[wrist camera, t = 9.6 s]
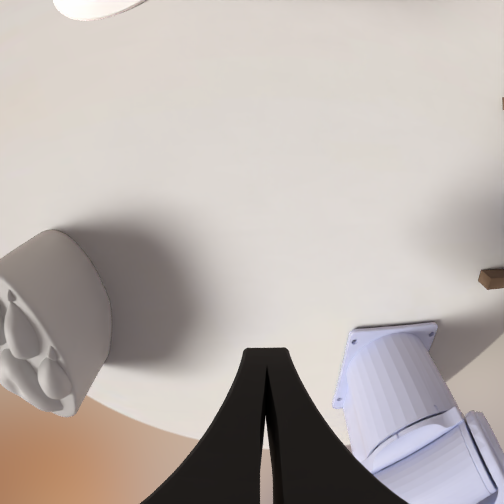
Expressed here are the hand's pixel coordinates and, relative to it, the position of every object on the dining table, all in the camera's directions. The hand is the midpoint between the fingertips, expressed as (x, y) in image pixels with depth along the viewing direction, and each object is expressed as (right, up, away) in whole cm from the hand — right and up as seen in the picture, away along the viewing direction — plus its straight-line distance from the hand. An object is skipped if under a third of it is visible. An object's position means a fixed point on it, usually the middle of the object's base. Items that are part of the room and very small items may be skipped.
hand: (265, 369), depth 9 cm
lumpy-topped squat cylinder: (-17, 0, +12) cm, 21 cm away
